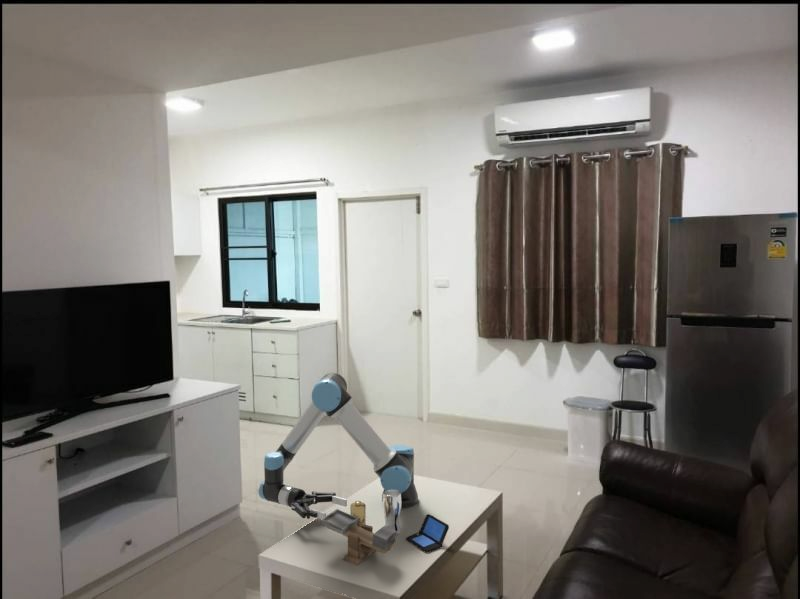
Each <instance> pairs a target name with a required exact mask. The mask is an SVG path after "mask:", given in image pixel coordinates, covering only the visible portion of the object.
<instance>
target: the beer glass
mask: <svg viewBox="0 0 800 599" xmlns="http://www.w3.org/2000/svg"><path fill="white" fill-rule="evenodd" d="M383 491H384V490H383ZM382 494H383V502H382V509H383V516H384V526H386V527H388V528H391V529H393V530H395V531H397V532H396V535H398V534H400V533H401V527H400V526H401V525H400V518H401V513H402V508H401V492H400V491H399V490H395V489H389V490H386V491H384V493H383V492H382Z"/></svg>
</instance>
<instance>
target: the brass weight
mask: <svg viewBox="0 0 800 599" xmlns="http://www.w3.org/2000/svg"><path fill="white" fill-rule="evenodd" d="M366 508H367V507H366V503H364V502H362V501H361V500H355V501H354V502H353V503H351V504H350V508H349V509H350V515H352V516H354V517H357V518H359V522H358V524H356V526H359V527H361V525H362V524H365V525H367V524H366V521H367V520H366V518H367V515H366V512H367V511H366Z"/></svg>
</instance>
